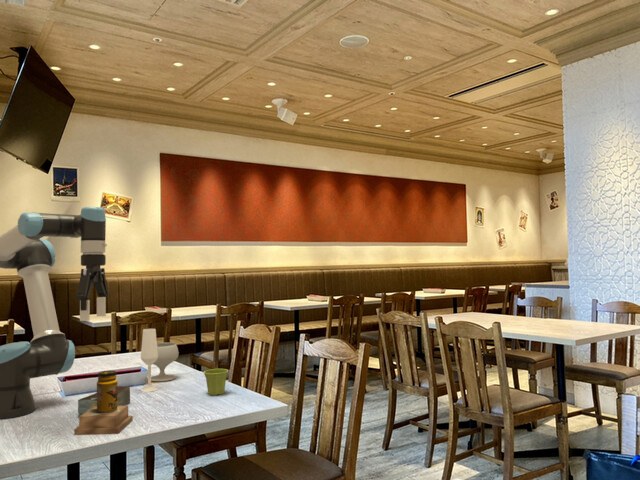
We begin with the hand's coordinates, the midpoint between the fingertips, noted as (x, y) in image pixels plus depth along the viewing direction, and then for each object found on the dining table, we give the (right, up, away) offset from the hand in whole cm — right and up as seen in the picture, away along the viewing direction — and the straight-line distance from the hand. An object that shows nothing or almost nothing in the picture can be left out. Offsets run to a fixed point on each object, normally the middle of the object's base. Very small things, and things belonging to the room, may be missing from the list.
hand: (93, 318), depth 174 cm
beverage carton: (0, -34, +10) cm, 35 cm away
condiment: (+8, -27, -10) cm, 30 cm away
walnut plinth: (+8, -32, -10) cm, 35 cm away
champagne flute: (+6, -34, +38) cm, 52 cm away
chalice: (+6, -35, +57) cm, 67 cm away
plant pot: (+35, -34, +30) cm, 57 cm away
